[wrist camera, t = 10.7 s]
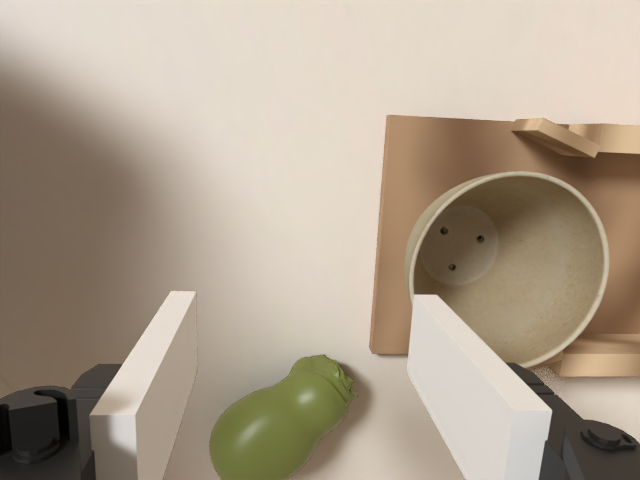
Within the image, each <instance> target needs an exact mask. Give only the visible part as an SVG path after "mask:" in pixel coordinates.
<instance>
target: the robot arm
mask: <svg viewBox="0 0 640 480" xmlns="http://www.w3.org/2000/svg"><path fill="white" fill-rule="evenodd" d="M407 374H408V376H409V378H410V379H411V381H412V383H413V385H414V387H415V388H416V390H417V392H418V394H419V396H420V397H421V399H422V401H423V403H424V405H425V407H426V408H427V410H428V412H429V414H430V416H431V417H432V419H433V421H434V423H435V425H436V427H437V428H438V430H439V432H440V434H441V436H442V437H443V439H444V441H445V443H446V445H447V447H448V448H449V450H450V452H451V454H452V456H453V457H454V459H455V461H456V463H457V465H458V467H459V468H460V470H461V472H462V474H463V476H464V477H465V479H466V480H640V444H639V443H638V442H637V441H636V440H635V438H633V437H632V436H630V435H629V434H627V433H626V432H624V431H622V430H620V429H618V428H616V427H613V426H611V425H609V424H606V423H602V422H598V421H594V420H583V419H582V418H581V417H580V416H579V415H578V414H577V413H576V412H575V411H573V410H572V409H571V408H570V407H569V406H568V405H567V404H566V403H565V402H564V401H563V400H562V399H561V398H560V397H558V396H557V395H554V392H553V391H552V390H551V389H550V388H549V387H548V386H545V385H544V383H543V382H542V381H541V380H540V379H539V378H538V377H537V376H536V375H535V374H534V373H533V372H531V371H529V370H527V369H525V368H524V367H522V366H520V365H518V364H516V363H505V362H504V361H503V360H502V359H501V358H500V357H499V356H498V355H497V354H496V353H495V352H494V351H493V350H492V349H491V348H490V347H489V346H488V345H487V344H486V343H485V342H484V341H483V340H482V339H481V338H480V337H479V336H478V335H477V334H476V333H475V332H474V331H473V330H472V329H471V328H470V327H469V326H468V325H467V324H466V323H465V322H464V321H463V320H462V319H461V318H460V317H459V316H458V315H457V314H456V313H455V312H454V311H453V310H452V309H451V308H450V307H449V306H448V305H447V304H446V303H445V302H444V301H443V300H442V299H441V298H440V297H439V296H438V295H414V299H413V310H412V321H411V331H410V342H409V352H408V363H407ZM196 375H197V298H196V291H171V292H170V293H169V295H168V296H167V298H166V299H165V301H164V302H163V304H162V306H161V307H160V309H159V310H158V312H157V313H156V315H155V316H154V318H153V319H152V321H151V322H150V324H149V325H148V327H147V328H146V330H145V331H144V333H143V334H142V336H141V337H140V339H139V341H138V342H137V344H136V345H135V347H134V348H133V350H132V351H131V353H130V354H129V356H128V357H127V359H126V360H125V362H124V363H123V364H99V365H97V366H95V367H94V368H92V369H90V370H89V371H87V372H85V373H84V374H82V375H81V376H80V378H79V379H78V380H77V381H76V383H75V384H74V385H73V386H72V389H71V390H69V389H67V388H65V387H58V386H41V387H33V388H29V389H25V390H21V391H17V392H15V393H12V394H10V395H8V396H5V397H3V398H1V399H0V480H163V477H164V474H165V471H166V467H167V464H168V461H169V458H170V455H171V452H172V449H173V446H174V443H175V440H176V437H177V434H178V430H179V427H180V424H181V421H182V418H183V415H184V412H185V409H186V406H187V403H188V400H189V397H190V393H191V390H192V387H193V384H194V381H195V378H196Z"/></svg>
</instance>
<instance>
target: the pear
mask: <svg viewBox="0 0 640 480" xmlns="http://www.w3.org/2000/svg"><path fill="white" fill-rule="evenodd" d="M353 382H354V380H352V379H351V378H350V377H348V375H346V374H345V373H344V372H343V371H342V369H341V368H340V366H339V364H338V363H337V361H336V360H331V359H327V358H326V357H325V355H317V356H312V357H304V358H301V359H300V360H298V361H297V362H296V363H295V364H294V366H293V367H292V369H291V371H290V373H289V375H288V376H287V377H286V378H285V379H283V380H282V381H281V382H279V383H278V384H276V385H274V386H272V387H269V388H265V389H261V390H258V391H255V392H253V393H251V394H249V395H247V396H245V397H244V398H242V399H240V400H239V401H237V402H236V403H234V404H233V405H232V406H230V407H229V408H228V409H227V410H226V411H225V412H224V413H223V414H222V415H221V417H220V418H219V419H218V421H217V422H216V424H215V426H214V428H213V430H212V433H211V437H210V444H209V449H210V456H211V460H212V463H213V466H214V468H215V470H216V472H217V474H218V475H219V476H220V478H221V479H222V480H287V479H288V478H290V477H291V476H292V475H294V474H295V473H296V472H297V471H299V470H300V469H301V468H302V467H303V466H304V465H305V464H306V462H307V461H308V460H309V458H310V457H311V455H312V454H313V452H314V450H315V448H316V446H317V445H318V443H319V442H320V440H321V439H322V438H323V437H324V436H325V435H326V434H327V433H329V432H330V431H332V430H333V429H334V428H336V427H337V426H338V425H339V424H340V423H341V422H342V420H343V419H344V418H345V416H346V415H347V413H348V407H347V406H348V405H349V403H350V402H351V401H352V400H354V399H355V398H356V397H358V392H357V390H356V389H355V388H354V387H353V386H351V385H352V383H353Z"/></svg>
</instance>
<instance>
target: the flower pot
mask: <svg viewBox="0 0 640 480" xmlns="http://www.w3.org/2000/svg"><path fill="white" fill-rule="evenodd" d="M441 231H444V234H442V233H441ZM478 236H481V238H480V239H477V238H478ZM609 260H610V254H609V247H608V241H607V236H606V233H605V230H604V227H603V224H602V222H601V220H600V218H599V216H598V214H597V212H596V211H595V209H594V208H593V207H592V205H591V204H590V203H589V201H588V200H587V199H586V198H585V197H584V196H583V195H582V194H581V193H580V192H579V191H578V190H576V189H575V188H574V187H572V186H571V185H569V184H567V183H566V182H564V181H562V180H560V179H557V178H555V177H552V176H549V175H546V174H542V173H537V172H528V171H514V172H503V173H496V174H490V175H486V176H482V177H478V178H475V179H472V180H469V181H467V182H464V183H462V184H460V185H458V186H456V187H454V188H452V189H450V190H449V191H447V192H446V193H444V194H443V195H441V196H440V197H439V198H437V199H436V200H435V201H434V202H433V203H432V204H431V205H429V207H428V208H427V209H426V210H425V211H424V212H423V213H422V215H421V216H420V217H419V219H418V220H417V222H416V224H415V226H414V227H413V229H412V231H411V234H410V236H409V239H408V243H407V246H406V251H405V260H404V276H405V284H406V290H407V295H408V298H409V302H410V305H411V308H412V310H413V299H414V295H438V296H439V297H440V298H441V299H442V300H443V301H444V302H445V303H446V304H447V305H448V306H449V307H450V308H451V309H452V310H453V311H454V312H455V313H456V314H457V315H458V316H459V317H460V318H461V319H462V320H463V321H464V322H465V323H466V324H467V325H468V326H469V327H470V328H471V329H472V330H473V331H474V332H475V333H476V334H477V335H478V336H479V337H480V338H481V339H482V340H483V341H484V342H485V343H486V344H487V345H488V346H489V347H490V348H491V349H492V350H493V351H494V352H495V353H496V354H497V355H498V356H499V357H500V358H501V359H502V360H503V361H504V362H505V363H516V364H518V365H520V366H522V367H524V368H528V367H531V366H534V365H537V364H539V363H541V362H543V361H545V360H547V359H549V358H551V357H553V356H555V355H556V354H558V353H559V352H560V351H562V350H563V349H564V348H566V347H567V346H568V345H569V344H570V343H572V342H573V341H574V340H575V339H576V338H577V337H578V336H579V335H580V334H581V333H582V331H583V330H584V329H585V328H586V327H587V325H588V324H589V322H590V321H591V319H592V318H593V316H594V314H595V313H596V311H597V309H598V307H599V305H600V303H601V301H602V298H603V295H604V292H605V288H606V284H607V280H608V275H609V264H610V262H609ZM454 265H455V269H454V270H453V269H452V267H453V266H454Z"/></svg>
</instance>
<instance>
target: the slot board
mask: <svg viewBox="0 0 640 480" xmlns="http://www.w3.org/2000/svg"><path fill="white" fill-rule="evenodd" d="M514 171H528V172H537V173H542V174H546V175H549V176H552V177H555V178H557V179H560V180H562V181H564V182H566V183H567V184H569V185H571V186H572V187H574V188H575V189H576V190H578V191H579V192H580V193H581V194H582V195H583V196H584V197H585V198H586V199H587V200H588V201H589V203H590V204H591V205H592V207H593V208H594V209H595V211H596V212H597V214H598V216H599V218H600V220H601V222H602V224H603V227H604V230H605V233H606V236H607V241H608V247H609V254H610V260H609V262H610V264H609V275H608V280H607V284H606V288H605V292H604V295H603V298H602V301H601V303H600V305H599V307H598V309H597V311H596V313H595V314H594V316H593V318H592V319H591V321H590V322H589V324H588V325H587V327H586V328H585V329H584V330H583V331H582V333H581V334H580V335H579V336H578V337H577V338H576V339H575V340H574V341H573V342H572V343H570V344H569V345H568V346H567V347H566V348H564V349H563V350H562V351H560V352H559V353H558V354H556V355H555V356H553V357H551V358H549V359H547V360H545V361H543V362H541V363H539V364H537V365H534V366H531V367H528V368H525V369H527V370H529V371H530V370H533V369H536V368H539V367H542V366H545V365H547V366H548V367H549V368H550V369H551V370H552V371H554V372H555V373H556V374H557V375H558V376H559V377H579V376H640V126H636V125H618V124H574V125H567V124H555V123H553V122H551V121H549V120H547V119H545V118H534V119H517V120H516V121H515V122H511V121H492V120H474V119H455V118H436V117H418V116H399V115H388V116H387V119H386V132H385V145H384V159H383V172H382V185H381V198H380V212H379V225H378V238H377V252H376V265H375V278H374V291H373V305H372V318H371V331H370V345H369V348H370V350H371V352H372V354H408V352H409V342H410V331H411V321H412V308H411V305H410V302H409V298H408V295H407V290H406V284H405V276H404V260H405V251H406V246H407V243H408V239H409V236H410V234H411V231H412V229H413V227H414V226H415V224H416V222H417V220H418V219H419V217H420V216H421V215H422V213H423V212H424V211H425V210H426V209H427V208H428V207H429V205H431V204H432V203H433V202H434V201H435V200H436V199H437V198H439V197H440V196H441V195H443V194H444V193H446V192H447V191H449V190H450V189H452V188H454V187H456V186H458V185H460V184H462V183H464V182H467V181H469V180H472V179H475V178H478V177H482V176H486V175H490V174H496V173H503V172H514ZM441 233H442V234H444V231H441ZM480 238H481V236H478V238H477V239H480ZM452 269H453V270H454V269H455V265H454V266H453V267H452Z"/></svg>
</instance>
